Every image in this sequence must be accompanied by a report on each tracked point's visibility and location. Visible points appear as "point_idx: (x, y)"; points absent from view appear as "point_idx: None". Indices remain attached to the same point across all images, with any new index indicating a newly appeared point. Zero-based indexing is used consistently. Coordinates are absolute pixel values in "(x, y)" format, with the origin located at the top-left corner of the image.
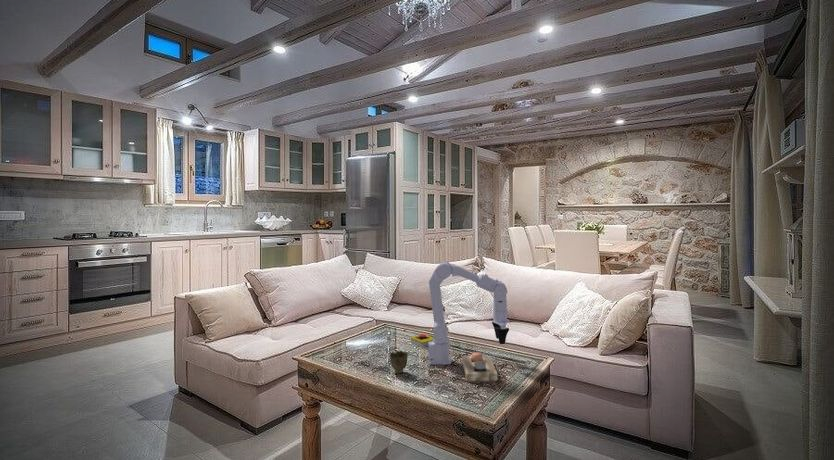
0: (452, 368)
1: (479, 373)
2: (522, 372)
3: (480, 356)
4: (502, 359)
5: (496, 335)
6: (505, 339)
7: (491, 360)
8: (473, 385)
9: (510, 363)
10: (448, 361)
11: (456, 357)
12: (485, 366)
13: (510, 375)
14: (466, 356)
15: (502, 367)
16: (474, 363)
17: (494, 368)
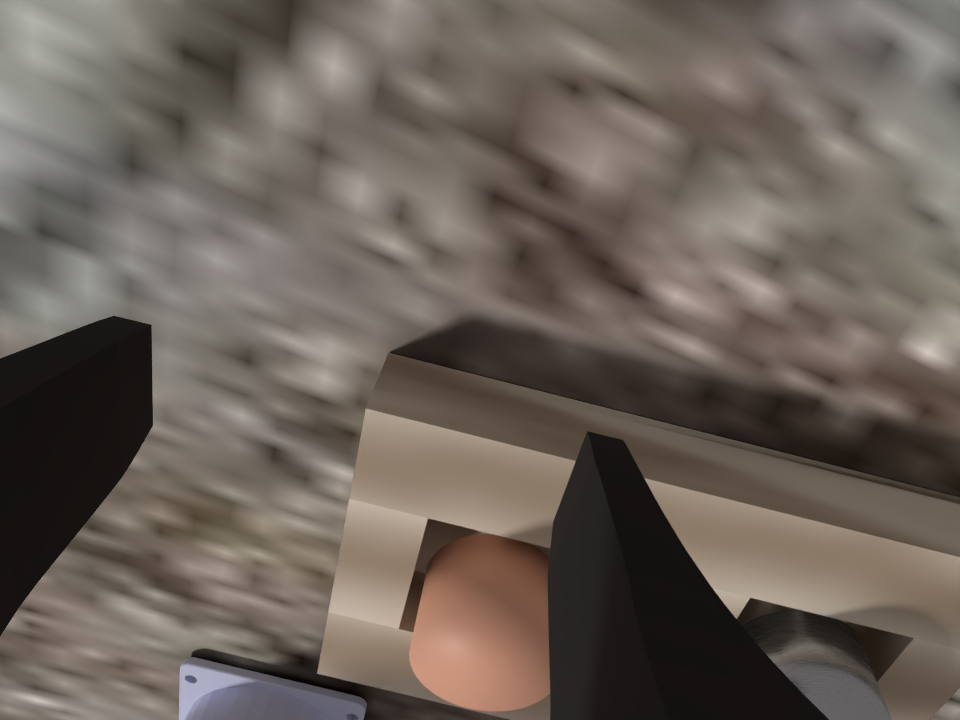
0: (467, 710)
1: (914, 718)
2: (950, 55)
3: None
4: (291, 117)
5: (109, 481)
6: (665, 520)
7: (568, 460)
8: (939, 710)
9: (497, 66)
10: (315, 709)
11: (165, 597)
12: (865, 675)
13: (940, 293)
14: (337, 643)
15: (616, 266)
16: None
17: (873, 542)
